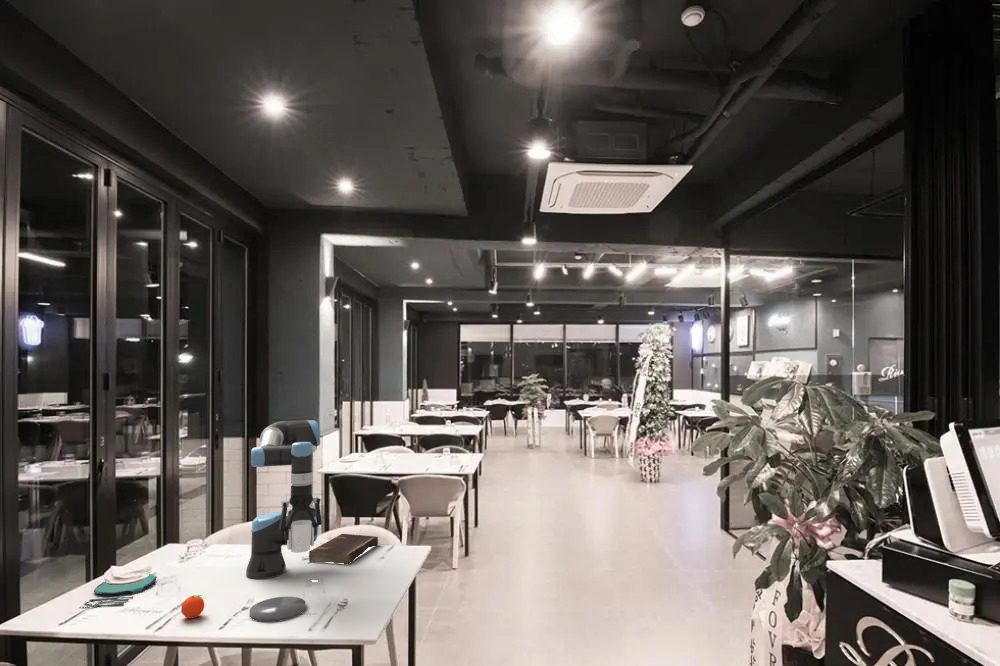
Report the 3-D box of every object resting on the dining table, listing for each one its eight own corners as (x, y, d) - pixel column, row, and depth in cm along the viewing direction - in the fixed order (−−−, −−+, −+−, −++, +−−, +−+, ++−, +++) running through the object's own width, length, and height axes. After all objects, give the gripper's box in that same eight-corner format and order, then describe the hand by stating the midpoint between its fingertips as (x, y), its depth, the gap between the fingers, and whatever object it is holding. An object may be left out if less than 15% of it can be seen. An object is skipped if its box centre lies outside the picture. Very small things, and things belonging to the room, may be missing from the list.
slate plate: (239, 612, 198) (239, 608, 198) (287, 596, 212) (287, 592, 212) (267, 626, 187) (267, 622, 187) (315, 609, 201) (316, 604, 201)
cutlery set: (165, 577, 235) (165, 571, 235) (128, 607, 205) (128, 601, 205) (111, 580, 232) (112, 574, 232) (66, 612, 202) (66, 605, 203)
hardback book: (348, 566, 248) (348, 554, 248) (308, 563, 252) (309, 551, 252) (378, 546, 276) (378, 535, 276) (342, 544, 280) (342, 533, 281)
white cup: (299, 554, 209) (300, 526, 210) (284, 551, 213) (285, 523, 214) (316, 548, 216) (316, 521, 217) (301, 546, 220) (301, 519, 221)
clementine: (201, 610, 201) (202, 589, 201) (211, 615, 196) (211, 593, 197) (177, 618, 194) (178, 596, 195) (186, 623, 190) (186, 601, 191)
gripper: (275, 488, 208) (273, 554, 206) (331, 482, 219) (331, 544, 217) (270, 485, 214) (269, 549, 213) (325, 480, 226) (325, 540, 224)
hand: (300, 546), depth 215 cm, fingers closed on white cup, 8 cm apart
